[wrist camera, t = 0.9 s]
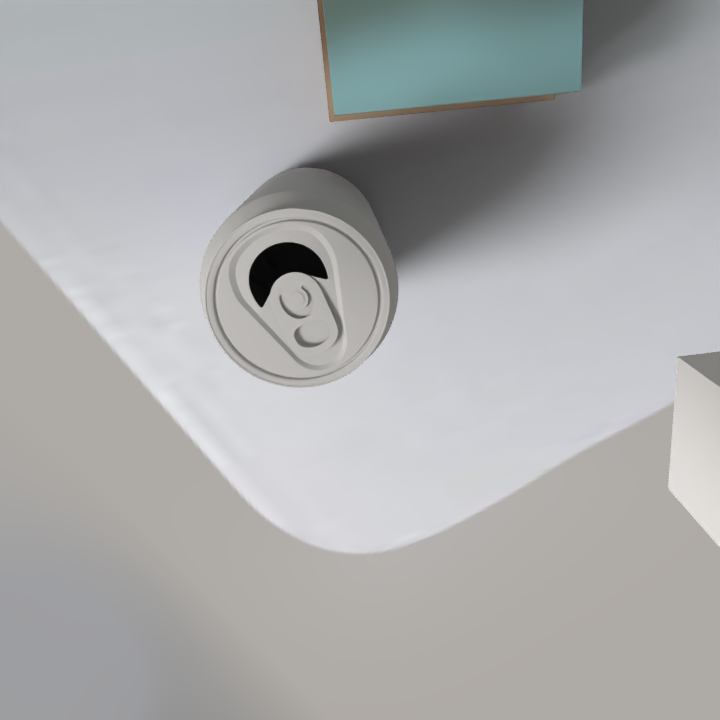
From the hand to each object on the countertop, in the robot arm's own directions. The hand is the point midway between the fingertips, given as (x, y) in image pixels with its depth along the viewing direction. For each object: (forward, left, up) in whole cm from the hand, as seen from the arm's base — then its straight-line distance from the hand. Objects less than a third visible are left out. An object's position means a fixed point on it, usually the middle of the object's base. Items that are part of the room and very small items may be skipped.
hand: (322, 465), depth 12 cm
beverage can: (-1, -1, -21) cm, 21 cm away
